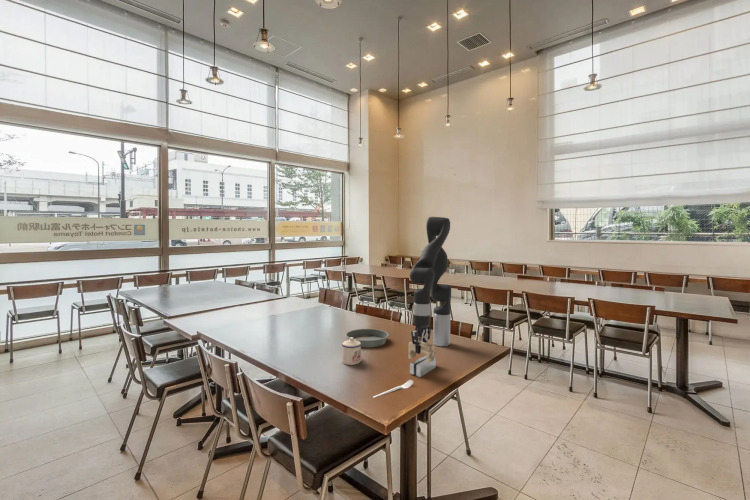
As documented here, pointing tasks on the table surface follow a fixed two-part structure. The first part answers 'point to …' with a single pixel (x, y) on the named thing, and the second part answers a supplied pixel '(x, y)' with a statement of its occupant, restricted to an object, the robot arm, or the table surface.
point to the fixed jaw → (425, 367)
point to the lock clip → (422, 350)
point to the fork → (397, 388)
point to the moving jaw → (414, 363)
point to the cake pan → (374, 340)
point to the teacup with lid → (351, 352)
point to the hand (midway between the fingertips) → (421, 351)
